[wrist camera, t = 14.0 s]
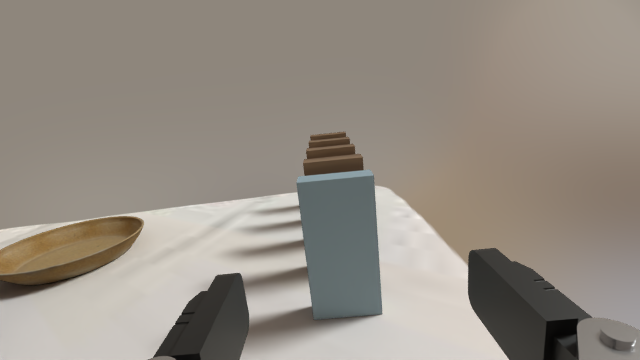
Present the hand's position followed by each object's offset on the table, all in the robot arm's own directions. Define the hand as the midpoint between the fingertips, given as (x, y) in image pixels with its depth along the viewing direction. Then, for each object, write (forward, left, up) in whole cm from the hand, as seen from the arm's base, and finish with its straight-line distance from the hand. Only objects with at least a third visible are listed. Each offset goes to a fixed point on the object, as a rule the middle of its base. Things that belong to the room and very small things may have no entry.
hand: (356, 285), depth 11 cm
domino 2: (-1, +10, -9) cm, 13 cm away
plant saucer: (-32, +21, -9) cm, 40 cm away
